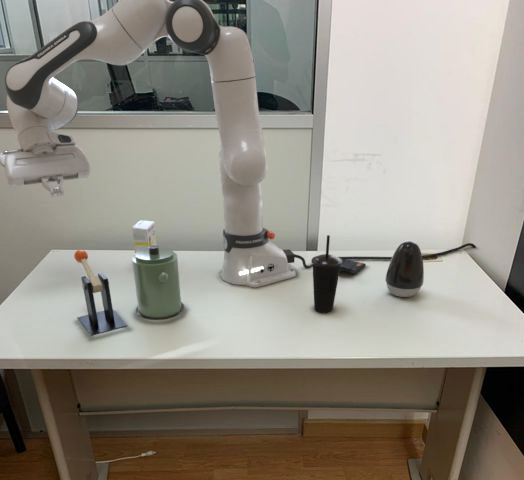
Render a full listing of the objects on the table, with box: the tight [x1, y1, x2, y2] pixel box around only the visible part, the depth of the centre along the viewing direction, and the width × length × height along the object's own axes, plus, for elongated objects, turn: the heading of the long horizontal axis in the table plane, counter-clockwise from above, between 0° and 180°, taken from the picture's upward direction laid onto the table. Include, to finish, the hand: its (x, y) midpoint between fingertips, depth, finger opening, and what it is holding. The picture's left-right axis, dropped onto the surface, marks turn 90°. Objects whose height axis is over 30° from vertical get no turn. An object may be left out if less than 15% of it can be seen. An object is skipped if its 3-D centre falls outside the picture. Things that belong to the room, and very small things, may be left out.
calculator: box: [339, 258, 366, 275], centre depth 162 cm, size 9×12×3 cm
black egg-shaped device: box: [384, 240, 425, 298], centre depth 144 cm, size 10×10×15 cm
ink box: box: [131, 219, 157, 254], centre depth 167 cm, size 9×5×12 cm, turn 174°
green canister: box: [131, 244, 185, 321], centre depth 133 cm, size 18×12×18 cm
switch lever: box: [73, 249, 102, 294], centre depth 128 cm, size 13×3×3 cm, turn 33°
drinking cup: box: [310, 234, 342, 314], centre depth 135 cm, size 8×8×20 cm
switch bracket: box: [76, 272, 128, 337], centre depth 129 cm, size 11×9×13 cm
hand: (57, 194), depth 133 cm, fingers closed
